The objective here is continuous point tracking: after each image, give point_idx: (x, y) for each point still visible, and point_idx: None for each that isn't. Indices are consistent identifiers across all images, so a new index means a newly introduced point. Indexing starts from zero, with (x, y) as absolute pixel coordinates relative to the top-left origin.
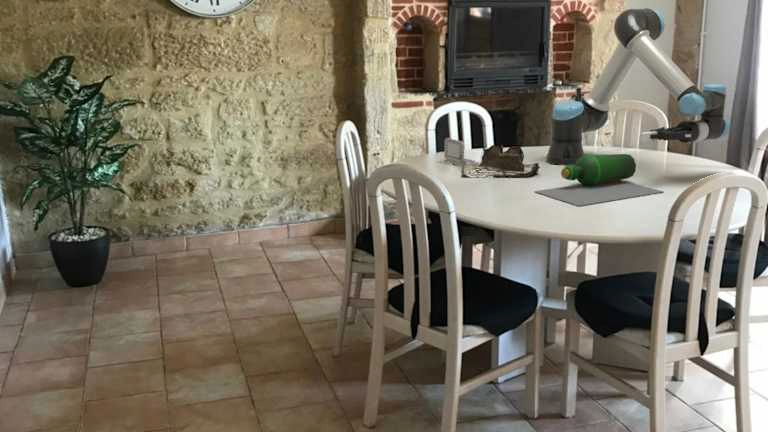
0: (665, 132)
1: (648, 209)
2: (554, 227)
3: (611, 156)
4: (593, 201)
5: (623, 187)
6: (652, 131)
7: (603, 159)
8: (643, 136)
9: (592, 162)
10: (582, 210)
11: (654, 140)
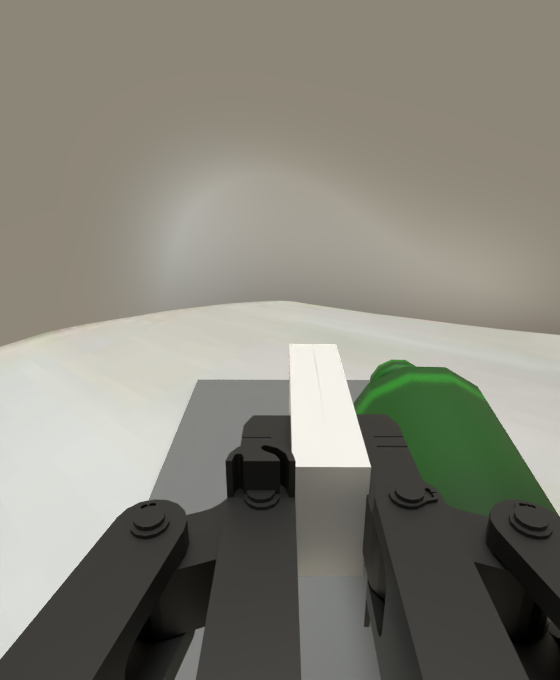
0: (155, 517)
1: (13, 464)
2: (132, 325)
3: (436, 455)
4: (200, 410)
5: (299, 593)
6: (419, 481)
7: (394, 417)
8: (289, 375)
9: (369, 383)
10: (169, 376)
11: (365, 616)
